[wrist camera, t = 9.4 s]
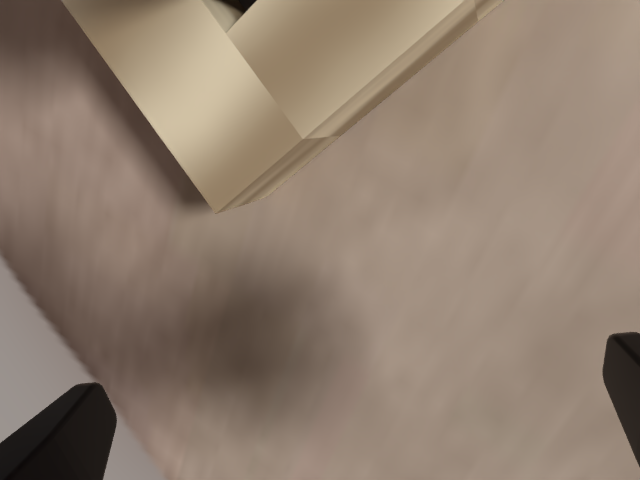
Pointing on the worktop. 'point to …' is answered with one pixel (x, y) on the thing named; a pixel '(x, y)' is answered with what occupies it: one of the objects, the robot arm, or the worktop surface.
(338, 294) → the worktop surface
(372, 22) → the socket block
